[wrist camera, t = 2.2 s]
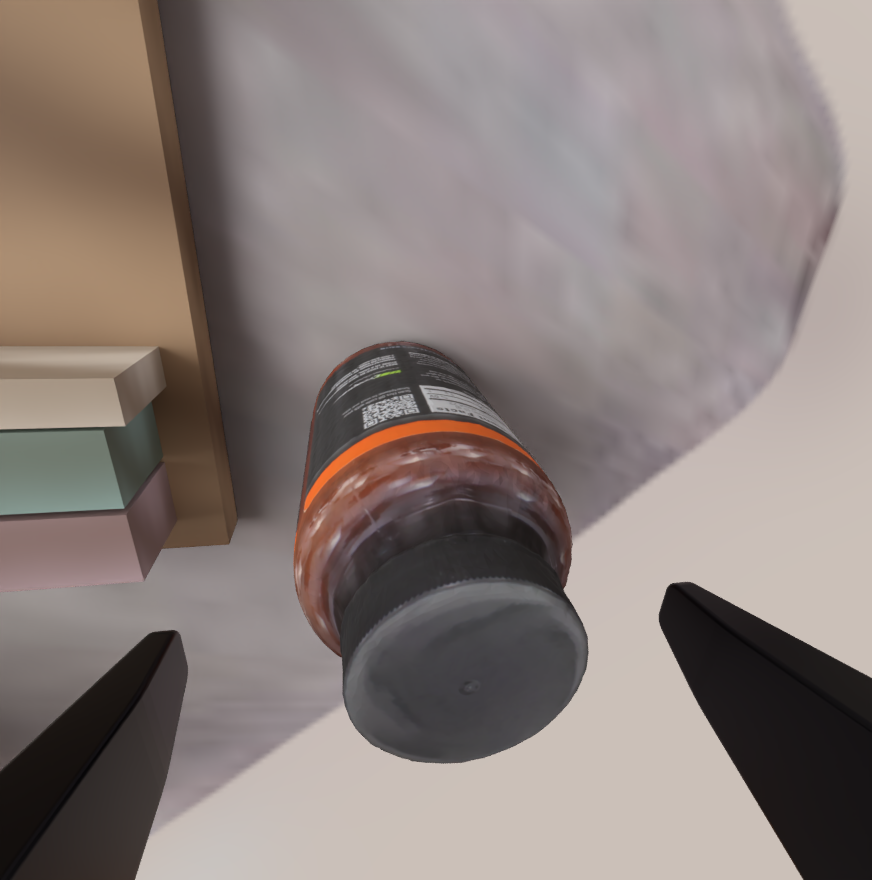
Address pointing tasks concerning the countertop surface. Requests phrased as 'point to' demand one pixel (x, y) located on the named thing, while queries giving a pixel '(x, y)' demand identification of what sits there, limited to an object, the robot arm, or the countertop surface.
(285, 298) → the countertop surface
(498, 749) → the supplement bottle
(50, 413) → the book rack
